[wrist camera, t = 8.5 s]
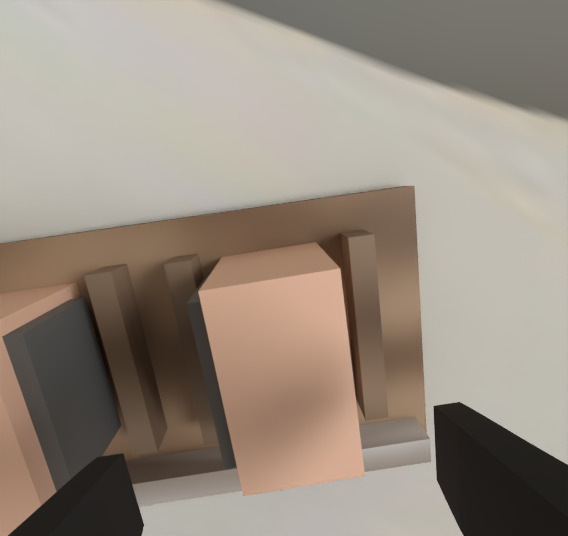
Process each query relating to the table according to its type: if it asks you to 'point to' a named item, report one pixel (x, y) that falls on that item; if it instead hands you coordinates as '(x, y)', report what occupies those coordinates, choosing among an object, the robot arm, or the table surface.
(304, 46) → the table surface
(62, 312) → the pink block
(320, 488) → the table surface
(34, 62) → the table surface
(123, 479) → the robot arm
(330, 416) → the peach rectangular block
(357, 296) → the walnut rack
